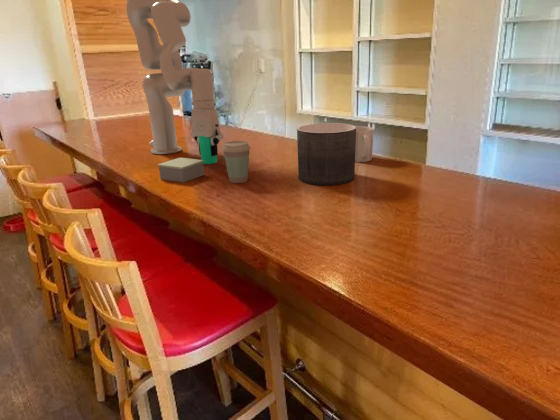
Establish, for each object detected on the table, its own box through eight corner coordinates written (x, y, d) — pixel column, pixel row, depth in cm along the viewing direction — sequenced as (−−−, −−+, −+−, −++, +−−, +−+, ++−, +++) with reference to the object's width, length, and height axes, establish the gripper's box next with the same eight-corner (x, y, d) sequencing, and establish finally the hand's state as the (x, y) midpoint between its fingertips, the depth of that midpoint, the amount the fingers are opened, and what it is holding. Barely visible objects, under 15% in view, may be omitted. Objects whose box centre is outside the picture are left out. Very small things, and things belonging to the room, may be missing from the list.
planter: (317, 189, 122) (317, 135, 116) (288, 175, 137) (286, 127, 131) (366, 179, 129) (368, 128, 124) (333, 167, 144) (334, 121, 139)
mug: (376, 156, 156) (378, 126, 153) (368, 164, 146) (370, 132, 142) (349, 155, 161) (349, 125, 157) (339, 162, 151) (340, 131, 147)
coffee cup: (256, 177, 136) (253, 140, 132) (245, 185, 128) (242, 146, 124) (232, 176, 139) (229, 140, 135) (220, 183, 131) (216, 145, 127)
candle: (214, 164, 155) (211, 131, 151) (198, 163, 156) (195, 131, 152) (219, 160, 161) (216, 128, 157) (204, 160, 162) (201, 128, 158)
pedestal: (159, 179, 138) (157, 164, 137) (181, 171, 147) (180, 157, 145) (183, 182, 133) (181, 167, 132) (204, 174, 142) (203, 160, 140)
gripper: (178, 105, 152) (184, 155, 159) (215, 106, 144) (220, 159, 150) (192, 103, 158) (197, 151, 165) (229, 104, 150) (233, 154, 156)
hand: (208, 154), depth 158 cm, fingers closed on candle, 4 cm apart
